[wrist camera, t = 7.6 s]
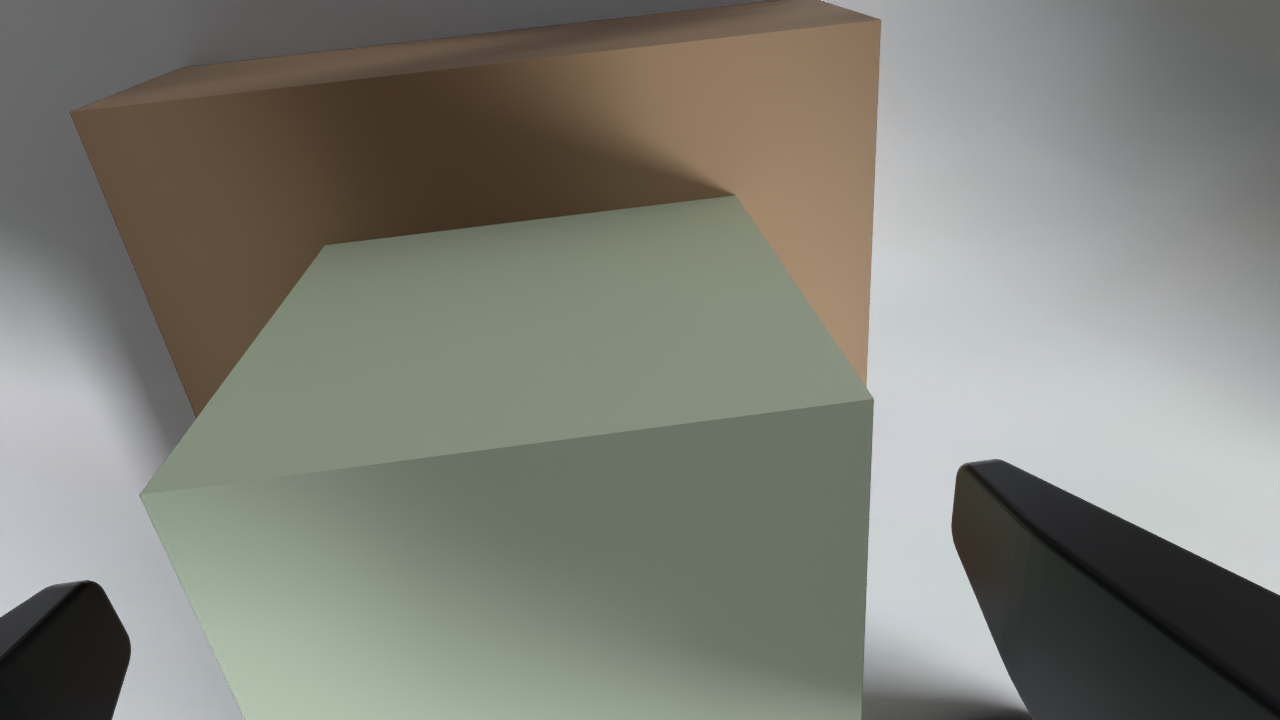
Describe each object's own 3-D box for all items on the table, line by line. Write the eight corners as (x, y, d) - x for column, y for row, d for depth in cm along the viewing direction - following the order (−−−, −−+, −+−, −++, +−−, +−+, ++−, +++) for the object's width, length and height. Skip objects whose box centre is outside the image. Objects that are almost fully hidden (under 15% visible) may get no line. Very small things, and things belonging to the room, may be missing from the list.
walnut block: (801, -6, 12) (881, 19, 9) (802, 479, 17) (857, 607, 14) (193, 63, 12) (69, 112, 9) (353, 538, 16) (306, 681, 13)
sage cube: (735, 195, 10) (874, 399, 6) (750, 518, 12) (855, 841, 8) (324, 245, 10) (138, 496, 6) (417, 563, 12) (339, 918, 8)
